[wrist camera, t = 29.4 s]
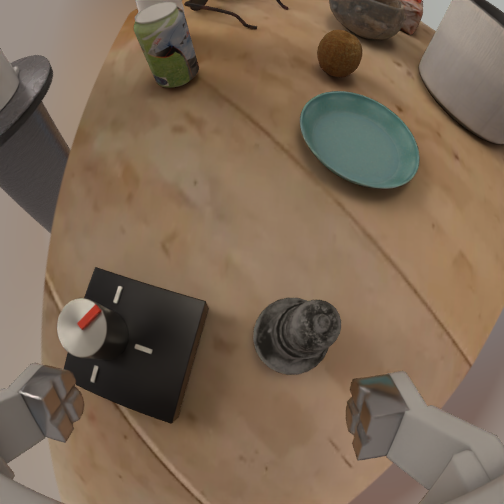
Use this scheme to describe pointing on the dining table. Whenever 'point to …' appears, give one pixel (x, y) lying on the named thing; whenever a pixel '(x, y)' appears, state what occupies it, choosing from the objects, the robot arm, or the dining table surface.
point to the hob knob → (91, 330)
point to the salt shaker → (295, 334)
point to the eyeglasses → (197, 3)
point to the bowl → (370, 17)
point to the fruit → (339, 53)
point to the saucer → (359, 139)
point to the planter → (469, 67)
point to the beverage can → (166, 44)
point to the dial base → (144, 346)
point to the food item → (412, 14)
